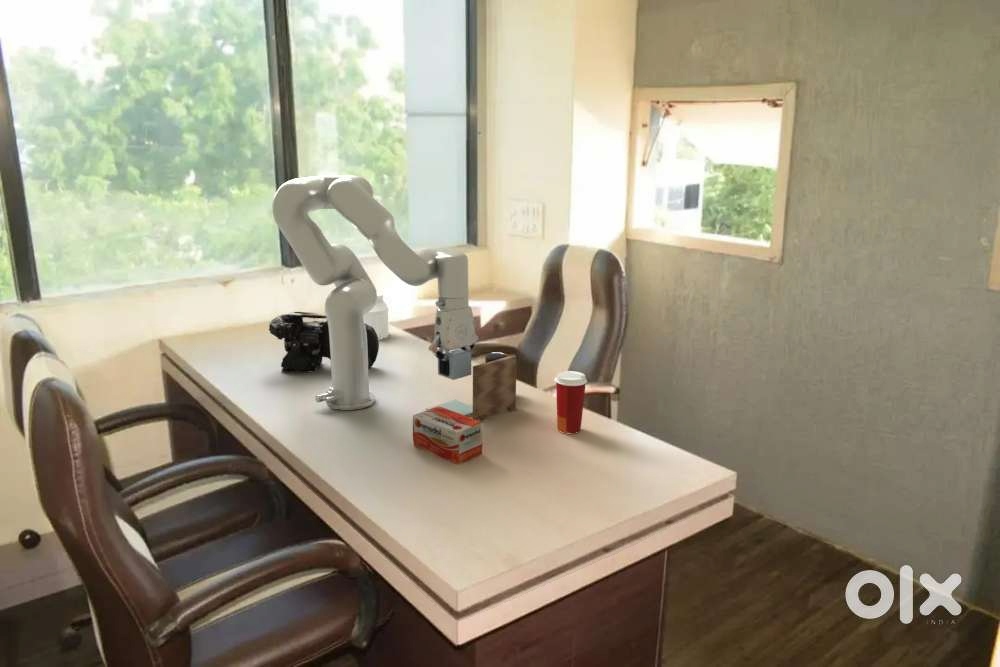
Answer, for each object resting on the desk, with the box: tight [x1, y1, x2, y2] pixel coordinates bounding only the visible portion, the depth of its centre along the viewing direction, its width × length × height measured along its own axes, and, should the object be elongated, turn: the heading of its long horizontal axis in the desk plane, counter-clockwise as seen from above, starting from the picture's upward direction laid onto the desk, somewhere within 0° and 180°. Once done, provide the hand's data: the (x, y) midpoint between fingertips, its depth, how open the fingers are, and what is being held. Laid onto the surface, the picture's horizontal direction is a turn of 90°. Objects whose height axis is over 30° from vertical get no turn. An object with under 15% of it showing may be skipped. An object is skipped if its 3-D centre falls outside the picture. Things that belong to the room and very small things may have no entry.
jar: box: [363, 291, 390, 339], centre depth 263 cm, size 12×10×15 cm
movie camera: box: [268, 311, 380, 373], centre depth 227 cm, size 31×18×18 cm, turn 90°
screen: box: [471, 354, 518, 422], centre depth 195 cm, size 14×4×14 cm, turn 134°
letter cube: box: [437, 348, 472, 381], centre depth 194 cm, size 6×6×6 cm
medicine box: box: [412, 406, 483, 466], centre depth 174 cm, size 15×8×8 cm, turn 47°
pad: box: [425, 399, 473, 417], centre depth 198 cm, size 10×10×1 cm
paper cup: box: [554, 370, 588, 434], centre depth 185 cm, size 8×8×14 cm
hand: (454, 371), depth 195 cm, fingers closed on letter cube, 6 cm apart
